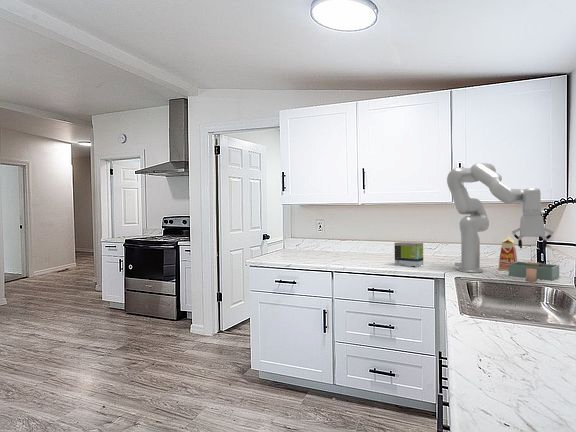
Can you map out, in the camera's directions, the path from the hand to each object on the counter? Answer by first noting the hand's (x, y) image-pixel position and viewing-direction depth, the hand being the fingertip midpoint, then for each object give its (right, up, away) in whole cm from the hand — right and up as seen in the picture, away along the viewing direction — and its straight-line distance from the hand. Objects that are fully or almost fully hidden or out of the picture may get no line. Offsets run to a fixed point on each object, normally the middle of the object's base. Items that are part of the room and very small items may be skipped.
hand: (532, 248), depth 190 cm
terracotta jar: (0, -16, +1) cm, 16 cm away
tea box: (-44, -16, +54) cm, 72 cm away
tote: (+9, -16, +13) cm, 22 cm away
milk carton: (+7, -16, +33) cm, 37 cm away
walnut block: (+9, -15, +13) cm, 22 cm away
